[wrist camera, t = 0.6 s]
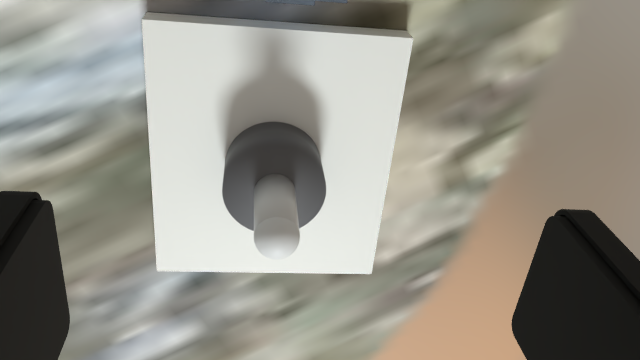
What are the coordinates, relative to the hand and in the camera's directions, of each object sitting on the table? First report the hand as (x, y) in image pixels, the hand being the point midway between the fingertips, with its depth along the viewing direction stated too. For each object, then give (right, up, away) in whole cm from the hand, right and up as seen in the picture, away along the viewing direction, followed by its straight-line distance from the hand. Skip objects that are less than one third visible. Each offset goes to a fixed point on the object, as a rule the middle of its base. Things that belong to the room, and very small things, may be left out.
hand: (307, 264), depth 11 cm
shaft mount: (-3, +3, +23) cm, 24 cm away
